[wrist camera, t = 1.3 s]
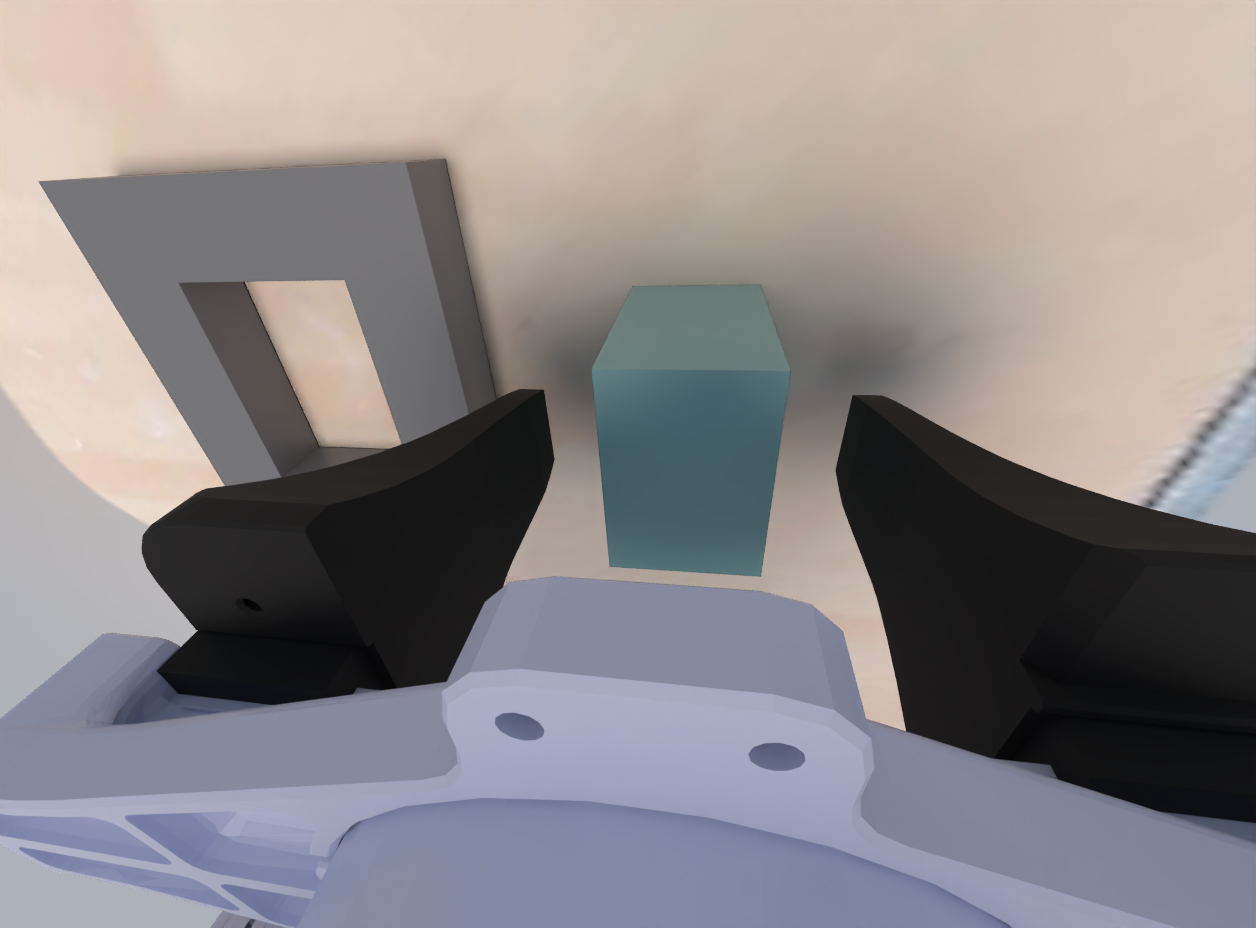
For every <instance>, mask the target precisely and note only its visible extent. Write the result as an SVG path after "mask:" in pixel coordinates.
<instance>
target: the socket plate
mask: <svg viewBox="0 0 1256 928" xmlns="http://www.w3.org/2000/svg"><path fill="white" fill-rule="evenodd" d="M38 182H39V183H40V185H41V187H42V188H43V190H44V191H45V193H46V195H47V196H48V198H49V200H50V201H51V203H52V204H53V206H54V208H55V209H56V211H57V213H58V214H59V216H60V218H61V219H62V221H63V222H64V224H65V226H66V227H67V229H68V231H69V232H70V234H71V235H72V237H73V239H74V240H75V242H76V244H77V245H78V247H79V248H80V250H81V252H82V253H83V255H84V257H85V258H86V260H87V262H88V263H89V265H90V266H91V268H92V270H93V271H94V273H95V275H96V276H97V278H98V279H99V281H100V283H101V284H102V286H103V288H104V289H105V291H106V293H107V294H108V296H109V297H110V299H111V301H112V302H113V304H114V306H115V307H116V309H117V310H118V312H119V314H120V315H121V317H122V319H123V320H124V322H125V324H126V325H127V327H128V328H129V330H130V332H131V333H132V335H133V337H134V338H135V340H136V341H137V343H138V345H139V346H140V348H141V350H142V351H143V353H144V354H145V356H146V358H147V359H148V361H149V363H150V364H151V366H152V368H153V369H154V371H155V372H156V374H157V376H158V377H159V379H160V381H161V382H162V384H163V385H164V387H165V389H166V390H167V392H168V394H169V395H170V397H171V399H172V400H173V402H174V403H175V405H176V407H177V408H178V410H179V412H180V413H181V415H182V416H183V418H184V420H185V421H186V423H187V425H188V426H189V428H190V429H191V431H192V433H193V434H194V436H195V438H196V439H197V441H198V443H199V444H200V446H201V447H202V449H203V451H204V452H205V454H206V456H207V457H208V459H209V460H210V462H211V464H212V465H213V467H214V469H215V470H216V472H217V474H218V475H219V477H220V478H221V480H222V482H223V483H224V485H225V486H230V485H236V484H243V483H250V482H256V481H263V480H270V479H275V478H281V477H286V476H291V475H296V474H301V473H305V472H310V471H315V470H319V469H323V468H327V467H332V466H335V465H339V464H343V463H346V462H349V461H353V460H356V459H360V458H363V457H366V456H370V455H373V454H376V453H380V452H383V451H386V450H389V449H360V448H332V447H319V446H318V444H317V442H316V440H315V437H314V435H313V433H312V431H311V429H310V427H309V424H308V422H307V420H306V418H305V416H304V414H303V411H302V409H301V407H300V405H299V403H298V400H297V398H296V396H295V394H294V392H293V390H292V387H291V385H290V383H289V381H288V379H287V376H286V374H285V372H284V370H283V368H282V366H281V363H280V361H279V359H278V357H277V355H276V353H275V350H274V348H273V346H272V344H271V342H270V339H269V337H268V335H267V333H266V331H265V329H264V326H263V324H262V322H261V320H260V318H259V315H258V313H257V311H256V309H255V307H254V305H253V302H252V300H251V298H250V296H249V294H248V292H247V289H246V287H245V285H244V283H243V282H248V281H309V280H345V282H346V285H347V288H348V291H349V294H350V297H351V300H352V302H353V305H354V308H355V311H356V314H357V317H358V320H359V323H360V325H361V328H362V331H363V334H364V337H365V340H366V343H367V345H368V348H369V351H370V354H371V357H372V360H373V363H374V366H375V368H376V371H377V374H378V377H379V380H380V383H381V386H382V388H383V391H384V394H385V397H386V400H387V403H388V406H389V409H390V411H391V414H392V417H393V420H394V423H395V426H396V429H397V431H398V434H399V437H400V440H401V443H402V444H405V443H407V442H410V441H412V440H415V439H417V438H420V437H422V436H424V435H427V434H429V433H431V432H433V431H435V430H437V429H439V428H441V427H443V426H446V425H448V424H450V423H452V422H454V421H456V420H458V419H460V418H462V417H464V416H466V415H468V414H470V413H472V412H474V411H475V410H477V409H479V408H481V407H483V406H485V405H487V404H489V403H491V402H493V401H494V400H496V396H495V392H494V387H493V382H492V377H491V373H490V368H489V363H488V359H487V354H486V349H485V345H484V340H483V335H482V331H481V326H480V321H479V316H478V312H477V307H476V302H475V298H474V293H473V288H472V284H471V279H470V274H469V270H468V265H467V260H466V255H465V251H464V246H463V241H462V237H461V232H460V227H459V223H458V218H457V213H456V209H455V204H454V199H453V195H452V190H451V185H450V180H449V176H448V171H447V166H446V162H445V159H434V160H415V161H396V162H377V163H357V164H338V165H319V166H300V167H280V168H261V169H242V170H223V171H203V172H184V173H165V174H145V175H126V176H109V177H95V178H81V179H66V180H52V181H38Z"/></svg>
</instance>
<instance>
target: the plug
mask: <svg viewBox="0 0 1256 928" xmlns="http://www.w3.org/2000/svg"><path fill="white" fill-rule="evenodd" d="M790 372H791V370H790V367H789V365H788V362H787V359H786V356H785V353H784V350H783V348H782V345H781V342H780V339H779V336H778V334H777V331H776V328H775V325H774V322H773V319H772V317H771V314H770V311H769V308H768V305H767V302H766V300H765V297H764V294H763V291H762V288H761V285H760V284H752V285H675V286H632V288H631V290H630V292H629V294H628V296H627V298H626V301H625V303H624V305H623V307H622V309H621V311H620V313H619V315H618V317H617V319H616V321H615V323H614V325H613V327H612V329H611V331H610V333H609V335H608V337H607V339H606V341H605V343H604V345H603V347H602V349H601V351H600V353H599V355H598V357H597V359H596V361H595V363H594V365H593V367H592V380H593V391H594V402H595V413H596V424H597V434H598V445H599V456H600V467H601V478H602V489H603V500H604V511H605V522H606V533H607V544H608V555H609V566H610V567H622V568H637V569H653V570H668V571H683V572H699V573H714V574H729V575H745V576H760V577H761V572H762V565H763V558H764V551H765V544H766V537H767V530H768V523H769V517H770V510H771V503H772V496H773V489H774V482H775V475H776V468H777V461H778V455H779V448H780V441H781V434H782V427H783V420H784V413H785V406H786V399H787V393H788V386H789V379H790Z"/></svg>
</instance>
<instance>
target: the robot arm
mask: <svg viewBox="0 0 1256 928" xmlns="http://www.w3.org/2000/svg"><path fill="white" fill-rule="evenodd" d="M554 460H555V459H554V453H553V446H552V440H551V433H550V427H549V420H548V414H547V407H546V401H545V394H544V390H535V389H519V390H516V391H513V392H511V393H509V394H507V395H504V396H502V397H500V398H498V399H496V400H494V401H493V402H491V403H489V404H487V405H485V406H483V407H481V408H479V409H477V410H475V411H474V412H472V413H470V414H468V415H466V416H464V417H462V418H460V419H458V420H456V421H454V422H452V423H450V424H448V425H446V426H443V427H441V428H439V429H437V430H435V431H433V432H431V433H429V434H427V435H424V436H422V437H420V438H417V439H415V440H412V441H410V442H407V443H405V444H402V445H399V446H397V447H394V448H391V449H389V450H386V451H383V452H380V453H376V454H373V455H370V456H366V457H363V458H360V459H356V460H353V461H349V462H346V463H343V464H339V465H335V466H332V467H327V468H323V469H319V470H315V471H310V472H305V473H301V474H296V475H291V476H286V477H281V478H275V479H270V480H263V481H256V482H250V483H243V484H236V485H230V486H223V487H215V488H207V489H204V490H202V491H200V492H198V493H196V494H195V495H193V496H192V497H190V498H189V499H187V500H186V501H185V502H183V503H182V504H180V505H179V506H178V507H176V508H175V509H173V510H172V511H170V512H169V513H168V514H166V515H165V516H163V517H162V518H160V519H159V520H158V521H156V522H155V523H153V524H152V525H151V526H150V527H149V528H148V529H147V531H146V532H145V533H144V535H143V539H142V555H143V558H144V560H145V563H146V566H147V568H148V570H149V571H150V573H151V574H152V576H153V577H154V579H155V580H156V582H157V583H158V584H159V585H160V587H161V588H162V589H163V590H164V591H165V593H166V594H167V595H168V596H169V597H170V599H171V600H172V601H173V602H174V603H175V605H176V606H177V607H178V608H179V609H180V611H181V612H182V613H183V614H184V616H185V617H186V618H187V619H188V620H189V622H190V623H191V624H192V625H193V626H194V627H195V629H196V630H198V631H197V632H196V633H195V634H194V635H193V636H192V637H191V638H190V639H189V640H188V641H187V642H186V643H185V644H184V645H183V646H182V647H180V646H179V645H177V644H175V643H173V642H171V641H169V640H166V639H162V638H158V637H147V636H138V635H128V634H117V633H107V634H102V635H101V636H100V637H99V638H97V639H96V640H95V641H94V642H93V643H91V644H90V645H89V646H88V647H86V648H85V649H84V650H83V651H82V652H80V654H78V655H77V656H76V657H74V658H73V659H72V660H71V661H70V662H68V663H67V664H66V665H65V666H63V667H62V668H61V669H60V670H59V671H57V672H56V673H55V674H54V675H53V676H51V677H50V678H49V679H48V680H47V681H45V682H44V683H43V684H42V685H41V686H39V687H38V688H37V689H36V690H34V691H33V692H32V693H31V694H30V695H28V696H27V697H26V698H25V699H24V700H22V701H21V702H20V703H19V704H18V705H16V706H15V707H14V708H13V709H12V710H10V711H9V712H8V713H7V714H6V715H4V716H3V717H2V718H1V719H0V844H1V845H3V846H5V847H6V848H8V849H10V850H12V851H14V852H16V853H18V854H20V855H21V856H24V857H25V858H27V859H29V860H31V861H33V862H35V863H36V864H38V865H40V866H42V867H44V868H46V869H48V870H51V871H57V872H61V873H66V874H71V875H76V876H81V877H86V878H91V879H96V880H101V881H105V882H110V883H114V884H119V885H123V886H127V887H131V888H136V889H140V890H144V891H149V892H153V893H157V894H161V895H165V896H169V897H172V898H176V899H180V900H184V901H188V902H192V903H196V904H200V905H203V906H207V907H211V908H214V909H218V910H222V912H221V914H220V915H219V916H218V918H217V919H216V921H215V922H214V923H213V925H212V926H211V928H1256V533H1251V532H1246V531H1242V530H1237V529H1232V528H1228V527H1223V526H1218V525H1213V524H1208V523H1204V522H1200V521H1196V520H1192V519H1188V518H1184V517H1180V516H1176V515H1172V514H1169V513H1165V512H1161V511H1157V510H1153V509H1149V508H1145V507H1142V506H1138V505H1135V504H1131V503H1128V502H1124V501H1121V500H1117V499H1114V498H1111V497H1108V496H1105V495H1101V494H1098V493H1095V492H1092V491H1089V490H1086V489H1083V488H1080V487H1077V486H1073V485H1071V484H1068V483H1065V482H1062V481H1059V480H1057V479H1054V478H1051V477H1048V476H1046V475H1043V474H1041V473H1038V472H1036V471H1033V470H1031V469H1028V468H1026V467H1023V466H1021V465H1018V464H1016V463H1013V462H1011V461H1009V460H1007V459H1004V458H1002V457H1000V456H998V455H996V454H993V453H991V452H989V451H987V450H985V449H983V448H981V447H979V446H977V445H975V444H973V443H971V442H969V441H967V440H965V439H963V438H961V437H959V436H957V435H956V434H954V433H952V432H950V431H948V430H946V429H944V428H943V427H941V426H939V425H937V424H935V423H934V422H932V421H930V420H928V419H927V418H925V417H923V416H921V415H919V414H918V413H916V412H914V411H912V410H911V409H909V408H907V407H905V406H903V405H901V404H899V403H898V402H896V401H894V400H891V399H889V398H887V397H884V396H876V395H853V396H852V400H851V405H850V409H849V413H848V418H847V422H846V427H845V431H844V435H843V440H842V444H841V449H840V453H839V457H838V462H837V466H836V476H837V481H838V486H839V491H840V496H841V501H842V505H843V508H844V511H845V514H846V516H847V519H848V522H849V524H850V527H851V530H852V532H853V535H854V537H855V540H856V543H857V545H858V548H859V550H860V553H861V556H862V558H863V561H864V563H865V566H866V569H867V571H868V574H869V576H870V579H871V582H872V585H873V588H874V591H875V594H876V597H877V600H878V604H879V608H880V612H881V616H882V620H883V624H884V628H885V632H886V636H887V640H888V645H889V649H890V654H891V658H892V663H893V667H894V672H895V676H896V681H897V686H898V691H899V696H900V701H901V707H902V712H903V717H904V722H905V728H906V731H903V730H900V729H897V728H894V727H890V726H887V725H884V724H881V723H878V722H875V721H872V720H868V719H866V717H865V713H864V709H863V705H862V702H861V698H860V694H859V690H858V686H857V683H856V679H855V675H854V671H853V668H852V664H851V660H850V656H849V652H848V649H847V645H846V641H845V637H844V634H843V631H842V630H841V629H840V628H839V627H837V626H836V625H835V624H834V623H833V622H832V621H830V620H829V619H828V618H827V617H826V616H824V615H823V614H822V613H821V612H820V611H819V610H817V609H816V608H815V607H814V606H813V605H811V604H808V603H804V602H801V601H797V600H793V599H789V598H785V597H781V596H777V595H773V594H770V593H766V592H762V591H752V590H738V589H724V588H710V587H696V586H683V585H669V584H655V583H641V582H627V581H613V580H600V579H586V578H572V577H558V576H554V577H546V578H538V579H530V580H522V581H514V582H509V583H508V584H507V585H505V586H504V587H503V585H504V582H505V579H506V576H507V573H508V571H509V568H510V566H511V564H512V561H513V559H514V557H515V555H516V552H517V550H518V548H519V546H520V544H521V542H522V540H523V538H524V536H525V534H526V532H527V530H528V527H529V525H530V523H531V521H532V519H533V517H534V515H535V513H536V511H537V509H538V506H539V504H540V502H541V500H542V498H543V496H544V493H545V491H546V488H547V485H548V481H549V478H550V475H551V471H552V467H553V464H554Z"/></svg>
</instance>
